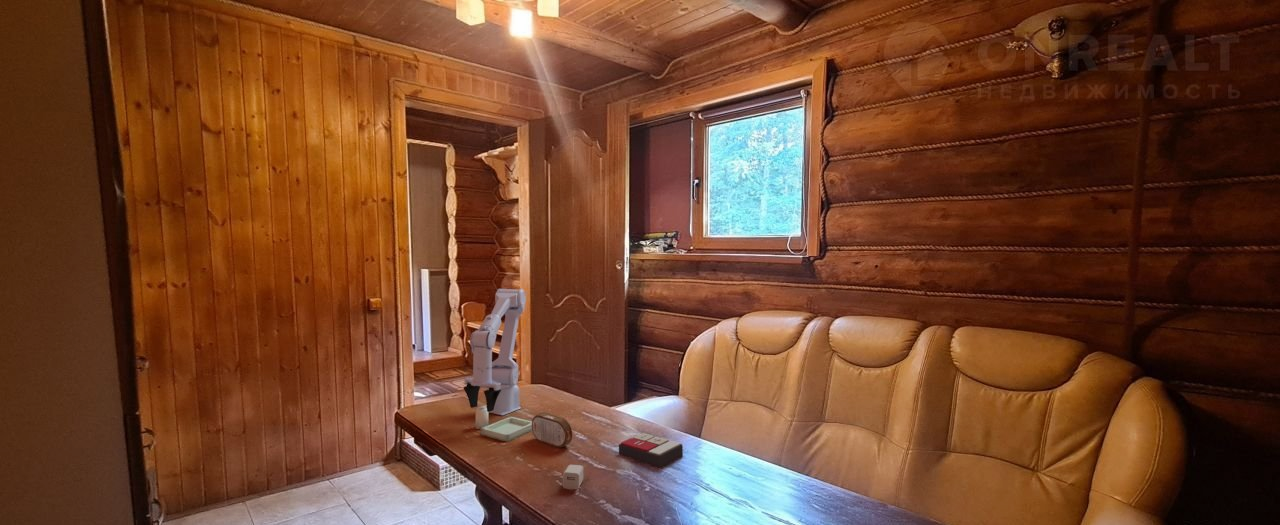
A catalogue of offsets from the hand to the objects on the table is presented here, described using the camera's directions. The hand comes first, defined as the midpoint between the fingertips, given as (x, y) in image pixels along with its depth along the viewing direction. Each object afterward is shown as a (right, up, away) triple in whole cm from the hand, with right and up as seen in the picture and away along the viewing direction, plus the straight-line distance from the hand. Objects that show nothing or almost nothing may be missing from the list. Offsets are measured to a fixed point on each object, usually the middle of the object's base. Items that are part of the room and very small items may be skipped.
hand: (482, 408), depth 157 cm
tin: (+25, -7, -13) cm, 29 cm away
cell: (0, -6, 0) cm, 6 cm away
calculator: (+54, -8, -20) cm, 58 cm away
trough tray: (+10, -6, -4) cm, 12 cm away
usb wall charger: (+35, -7, -37) cm, 52 cm away
